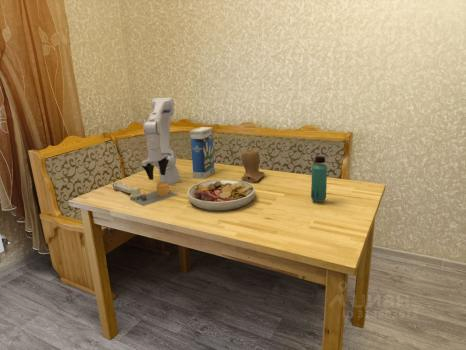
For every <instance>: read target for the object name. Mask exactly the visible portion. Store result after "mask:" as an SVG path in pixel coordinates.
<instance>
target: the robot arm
mask: <svg viewBox="0 0 466 350" xmlns="http://www.w3.org/2000/svg"><path fill="white" fill-rule="evenodd" d="M151 107H152V109H153V111H151V113H150V114H149V115H148V119H147V121H145V122H144V123H143V125H142V126H143V127H142V129H143V134H144V137H145V139H146V146H147V147H146V148H147V155H148V157H147V158H146V159H144V160H142V161H141V167H142V168H143V170H144V171H145V173H146V175H147V178H148V180H149V181H153V180H154V169H155V168H154V167H156V168H157V170H158V175H159V183H161V182H167V183H168V186H170V185H172V184H174V183H177V182H180V173H179V169H178V167H177V166H176V165H177V164H176V162H177V159H176V153H175V151H173V150H172V149H171V148H170V147H171V145H170V144H171V139H170V138H171V137H170V136H171V133H170V132H171V131H170V130H171V128H170V127H171V125H170V124H171V117H172V116H173V115H174V113H175V112H174V111H175V104H174V98H172V97H171V96H170V97H152V100H151ZM152 164H154V165H152Z"/></svg>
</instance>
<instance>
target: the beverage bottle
mask: <svg viewBox="0 0 466 350" xmlns="http://www.w3.org/2000/svg"><path fill="white" fill-rule="evenodd" d="M314 163H315V164H313V165H312V167H311V179H310V180H311V188H310V191H311V192H310V195H311V196H310V199H311V200H312V201H315V202H324V201H326V199H327V187H328V185H327V179H328V166H327V165H326V164H324V163H326V158H325V156H322V155H321V156H320V155H317V156H315V159H314Z"/></svg>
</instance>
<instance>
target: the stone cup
mask: <svg viewBox="0 0 466 350" xmlns="http://www.w3.org/2000/svg"><path fill="white" fill-rule="evenodd" d="M240 153H241V154H240V160H241V163H242V164H243V169H244V172H245V173H244V175H243V176H241V179H242V181H245V182H248V183H254V182H257V181H259V180H261V178H262V177H263V176H264V175H265V172H264V171H259V168H260V163H261V160H260V159H261V158H260V152H259V151H258V150H257V149H254V150H245V151H242V152H240Z"/></svg>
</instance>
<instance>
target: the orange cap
mask: <svg viewBox="0 0 466 350" xmlns="http://www.w3.org/2000/svg"><path fill="white" fill-rule="evenodd" d="M156 191H157V194H158V195H159V196H166V195H168V194H169V191H170V189H169V185H168V183H167V182H161V183H160V182H158V183H156Z"/></svg>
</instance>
